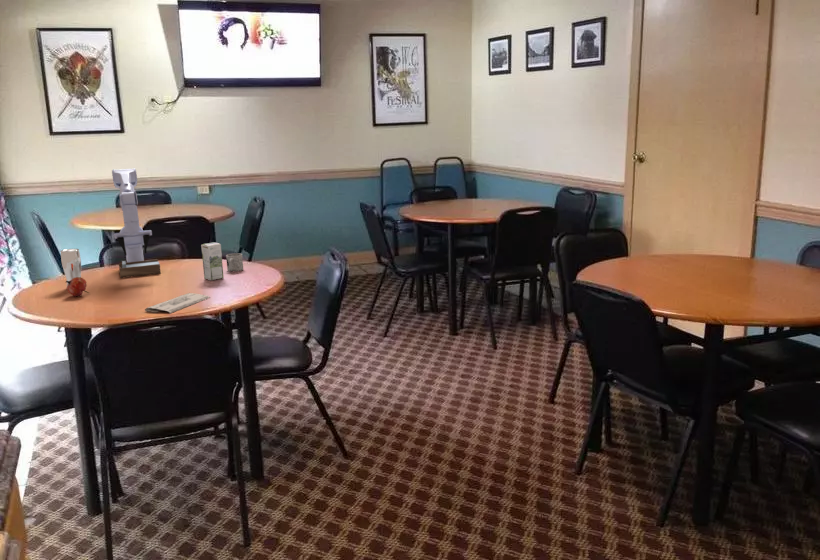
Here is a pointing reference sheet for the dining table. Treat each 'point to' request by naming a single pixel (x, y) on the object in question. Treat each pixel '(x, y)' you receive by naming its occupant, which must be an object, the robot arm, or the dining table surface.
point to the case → (139, 269)
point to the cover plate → (137, 264)
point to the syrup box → (212, 261)
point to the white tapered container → (71, 263)
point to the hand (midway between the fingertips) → (135, 254)
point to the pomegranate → (76, 286)
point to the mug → (234, 262)
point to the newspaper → (177, 303)
